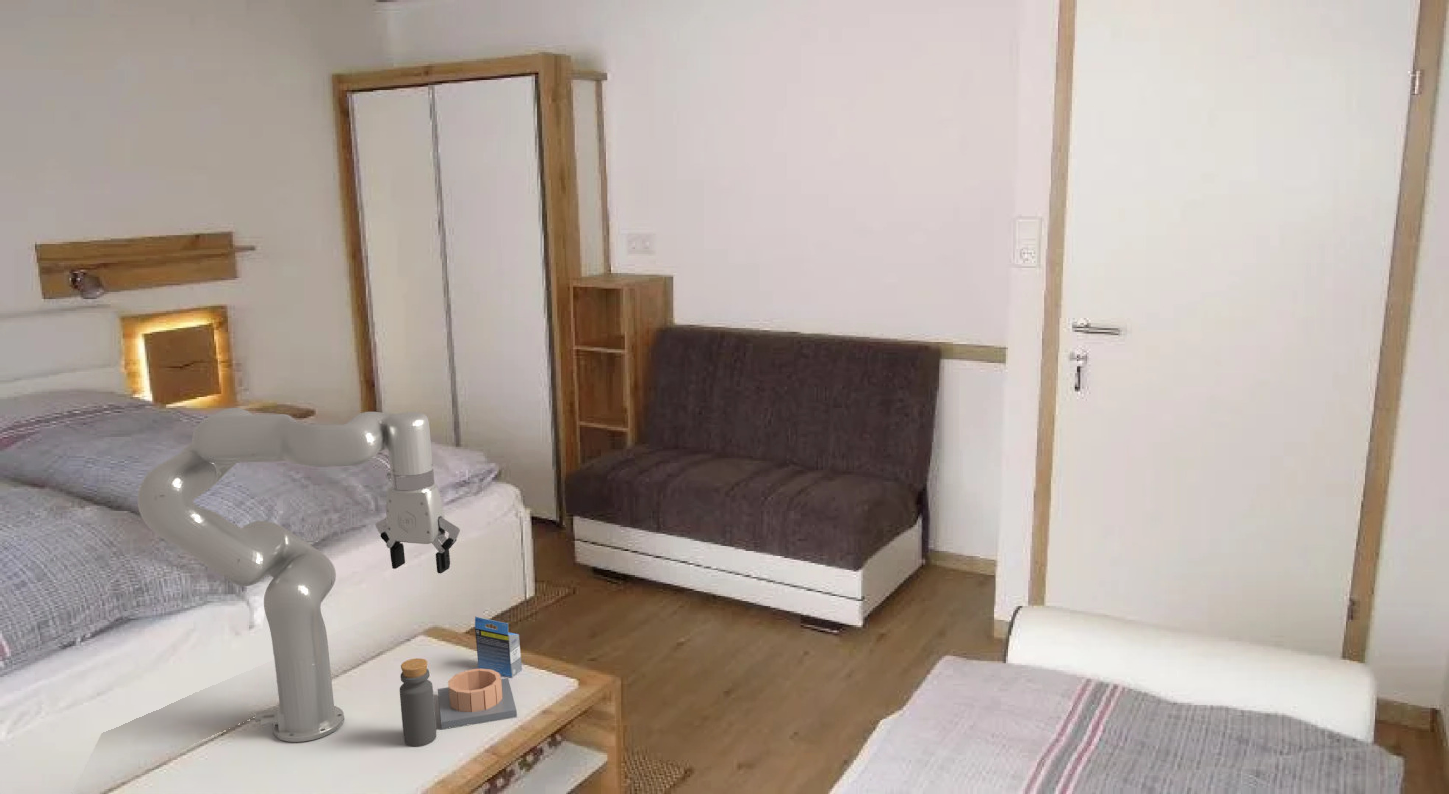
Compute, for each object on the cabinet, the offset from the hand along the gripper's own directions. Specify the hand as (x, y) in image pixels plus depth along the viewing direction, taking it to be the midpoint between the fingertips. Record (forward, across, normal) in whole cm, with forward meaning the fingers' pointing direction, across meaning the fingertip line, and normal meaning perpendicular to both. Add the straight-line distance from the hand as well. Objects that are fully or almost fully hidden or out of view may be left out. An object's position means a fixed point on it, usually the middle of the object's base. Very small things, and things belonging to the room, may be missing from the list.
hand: (421, 568), depth 195 cm
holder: (+31, +5, +7) cm, 32 cm away
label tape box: (+31, +2, +22) cm, 38 cm away
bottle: (+31, +1, -7) cm, 32 cm away
